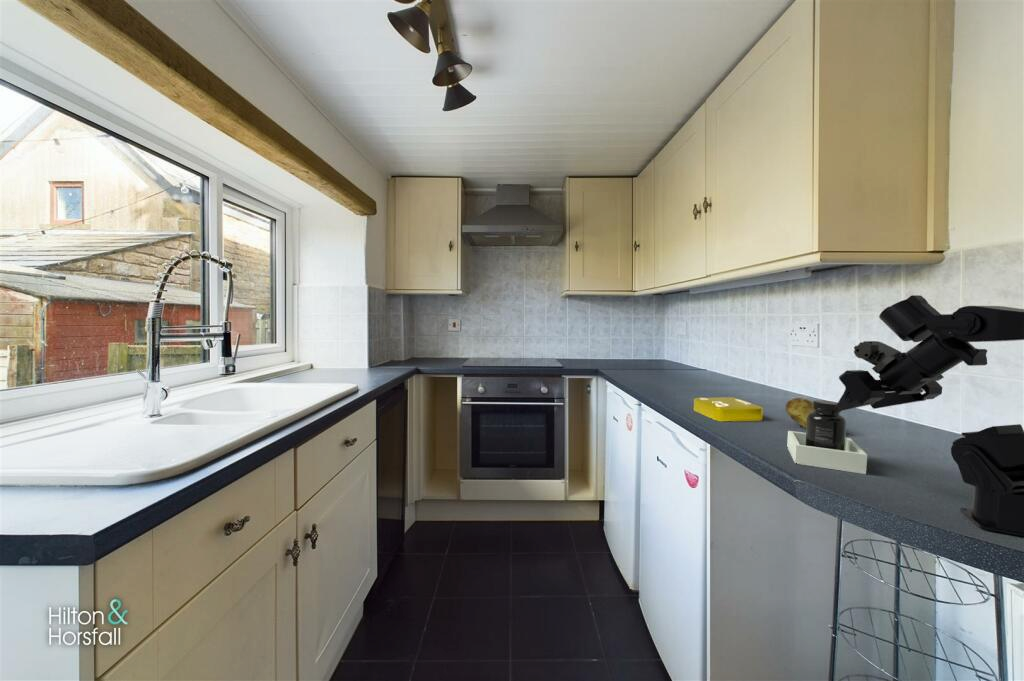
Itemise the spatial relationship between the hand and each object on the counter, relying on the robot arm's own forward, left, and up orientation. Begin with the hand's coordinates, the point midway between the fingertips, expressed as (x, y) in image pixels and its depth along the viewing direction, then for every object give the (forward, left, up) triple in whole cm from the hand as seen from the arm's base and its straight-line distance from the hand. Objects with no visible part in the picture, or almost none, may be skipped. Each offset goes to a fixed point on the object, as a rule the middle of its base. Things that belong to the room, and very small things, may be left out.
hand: (855, 407), depth 81 cm
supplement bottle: (+4, +4, -12) cm, 13 cm away
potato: (+31, +2, -13) cm, 34 cm away
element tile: (+37, +22, -14) cm, 46 cm away
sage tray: (+4, +4, -13) cm, 14 cm away
